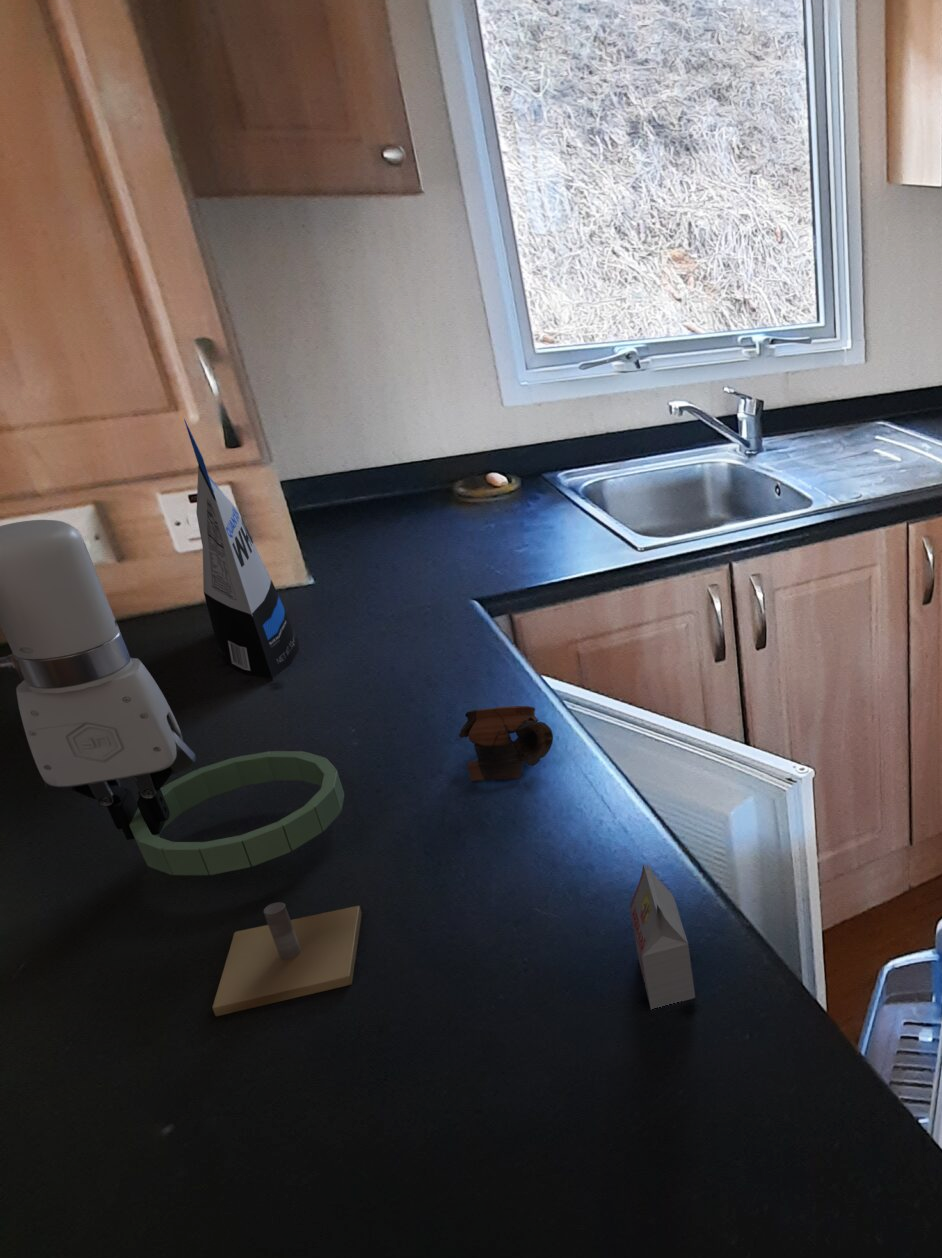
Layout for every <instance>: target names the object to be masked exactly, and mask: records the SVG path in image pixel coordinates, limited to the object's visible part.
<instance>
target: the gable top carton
mask: <svg viewBox="0 0 942 1258" xmlns="http://www.w3.org/2000/svg"><path fill="white" fill-rule="evenodd" d="M629 909H630V915H631V921H632V929H633V933H634V940H635V946H636V952H637V958H639V959H638V963H639V966H640V967H639V968H640V971H641V974H642V975H641V976H642V980H643V983H645V984H644V988H645V992H646V995H647V1001H648V1004H649V1008H650V1011H653V1010H652V1009H654V1008H657V1007H658V1009H660V1008H659V1007H661V1008H663V1007H662V1006H665V1005H668V1006H670V1005H669V1004H672V1005H674V1004H673V1003H675V1004H678V1003H677V1002H679V1003H682V1002H686V1001H689V1000H693V999H695V998H696V992H695V984H694V977H693V971H692V961H691V954H690V948H689V947H690V946H689V942H688V939H687V936H686V932H685V929H684V926H683V923H682V919H681V916H680V912H679V909H678V906H677V902H676V899H675V896H674V894H673V893H672V891H670V890H669V889H668V888H667V887H666V885H664V883H663V882H662V881H661V880H660V879H659V878H658V877H657V875H656V874H655V873H654V871H653V870H652V869H651V867H650V865H649V862H647V863H646V865H645V864H644V863H642V871H641V873H640V877H639V881H638V884H637V887H636V888H635V892H634V894H633V897H632V900H631V902H630V904H629ZM681 1001H682V1002H681ZM665 1007H666V1006H665ZM654 1010H655V1009H654Z"/></svg>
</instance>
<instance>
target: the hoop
mask: <svg viewBox="0 0 942 1258" xmlns="http://www.w3.org/2000/svg"><path fill="white" fill-rule="evenodd" d="M339 776H340V775H339V772H338V770H337V769H336V767H335V766H334V765H333V764H332V763H331V762H330V760H329V759H328V758H326V757H324V756H321V755H317V754H313V753H310V752H307V751H302V750H300V751H298V750H295V751H294V750H293V751H292V750H289V751H288V750H272V751H270V750H269V751H263V752H258V753H252V754H246V755H240V756H239V755H238V756H234V757H230V758H227V759H225V760H221V761H218V762H215V763H212V764H209V765H206V766H202V767H200V768H196V769H194V770H193V771H191V772H188V773H187V774H185V775H182V776H181V777H179V778H177V779H175V780H173V781H170V782H169V783H167V784H165V785H163V786H162V787H161V788H160V789H161V791H162V794H163V796H164V799H165V801H166V804H167V806H168V809H169V812H170V816H169V819H168V820H166V821H165V823H164V826H163V828H162V830H161V832H160V834H157V835H152V834H151V832H150V830H149V828H148V827H147V825H146V823H145V821H144V820H143V817H142V815H141V813H140V810H139V808H138V809H137V811H136V813H135V815H134V817H133V819H132V821H131V823H130V829H131V831H132V833H133V836H134V838H135V839H134V840H135V843H136V845H137V847H138V849H139V852H140V854H141V855H142V857H143V860H144V862H145V864H146V866H147V867H149V868H151V869H154V870H156V871H160V872H162V873H165V874H167V875H170V876H209V875H210V876H213V875H218V874H224V873H229V872H233V871H238V870H244V869H247V868H248V869H249V868H251V867H255V866H258V865H260V864H264V863H266V862H269V861H271V860H274V859H276V858H279V857H281V856H284V855H286V854H289V853H291V852H292V851H295V850H296V849H298V848H301V846H303V845H305V844H306V843H308V842H309V841H311V840H312V839H314V838H316V837H317V836H319V835H320V834H322V833H323V832H325V831H326V830H327V829H328V828H329V827H330V825H332V823H333V822H334V821H335V820H336V819H337V818H338V817H339V816H340V814H341V813H342V812H343V811H342V810H343V805H344V800H345V792H344V788H343V785H342V782H341V778H340V777H339ZM274 781H283V782H284V781H293V782H296V781H299V782H300V781H303V782H304V783H309V784H311V785H316V786H319V787H320V789H318V791H317V792H316V793H314V795H313V796H312V797H311V798H310V799H309V801H307V802H306V803H305V804H304V806H302V807H300V808H298V809H296V810H294V811H293V812H291V813H290V814H288V815H286V816H285V817H283V818H281V819H280V820H277V821H276V822H272V823H270V824H267V825H265V826H261V827H259V828H257V829H254V830H251V831H249V832H246V833H243V834H239V835H234V836H230V837H229V836H228V837H224V838H223V837H222V838H219V839H213V840H208V841H171V840H168V839H166V838H163V837H160V836H161V834H162V832H163V830H164V829H165V828H166V827H168V826H169V825H170V824H171V823H172V822H173V821H174V820H176V818H178V817H179V816H180V815H182V813H184V812H186V811H188V810H189V809H192V808H194V807H195V806H197V805H199V804H201V803H202V802H205V801H206V800H208V799H210V798H212V797H216V796H219V795H222V794H225V793H228V792H230V791H233V790H236V789H240V788H243V787H246V786H252V785H257V784H258V785H259V784H262V783H263V784H264V783H269V782H274Z"/></svg>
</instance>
